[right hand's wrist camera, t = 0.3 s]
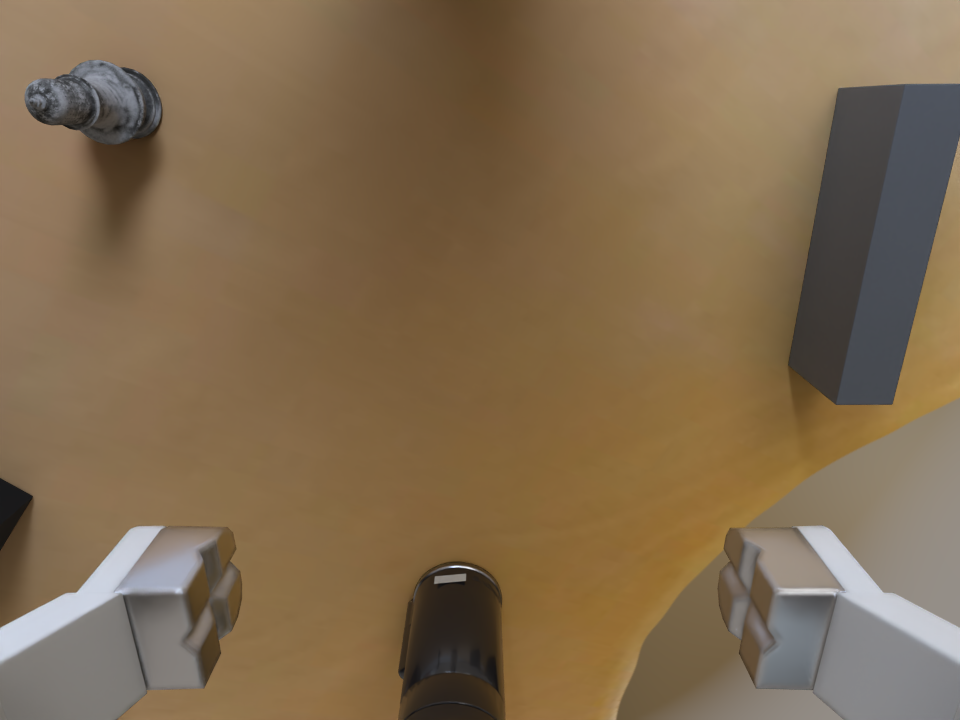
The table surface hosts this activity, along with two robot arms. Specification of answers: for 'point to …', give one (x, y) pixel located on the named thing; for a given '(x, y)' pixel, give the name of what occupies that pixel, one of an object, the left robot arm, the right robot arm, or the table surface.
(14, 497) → the cardboard box
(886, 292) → the bar
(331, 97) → the table surface
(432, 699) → the left robot arm
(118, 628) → the right robot arm
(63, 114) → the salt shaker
